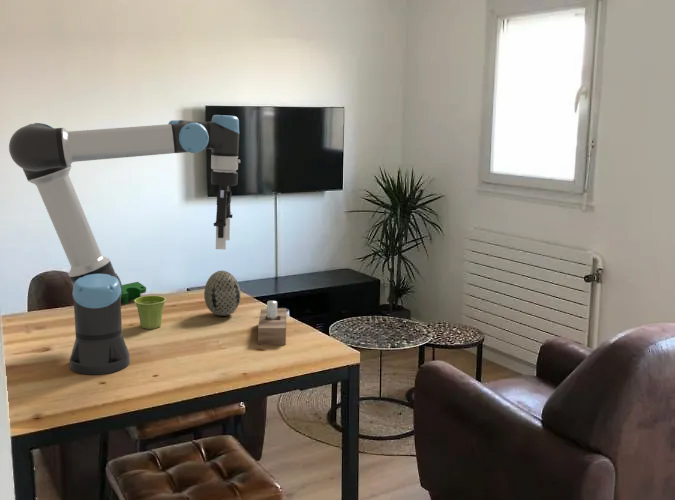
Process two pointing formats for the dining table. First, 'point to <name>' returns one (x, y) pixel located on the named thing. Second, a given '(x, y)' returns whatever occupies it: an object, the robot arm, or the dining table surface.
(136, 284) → the clamp
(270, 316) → the steel peg
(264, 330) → the hole block
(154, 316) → the plant pot
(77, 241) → the robot arm
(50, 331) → the dining table surface
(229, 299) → the decorative egg
